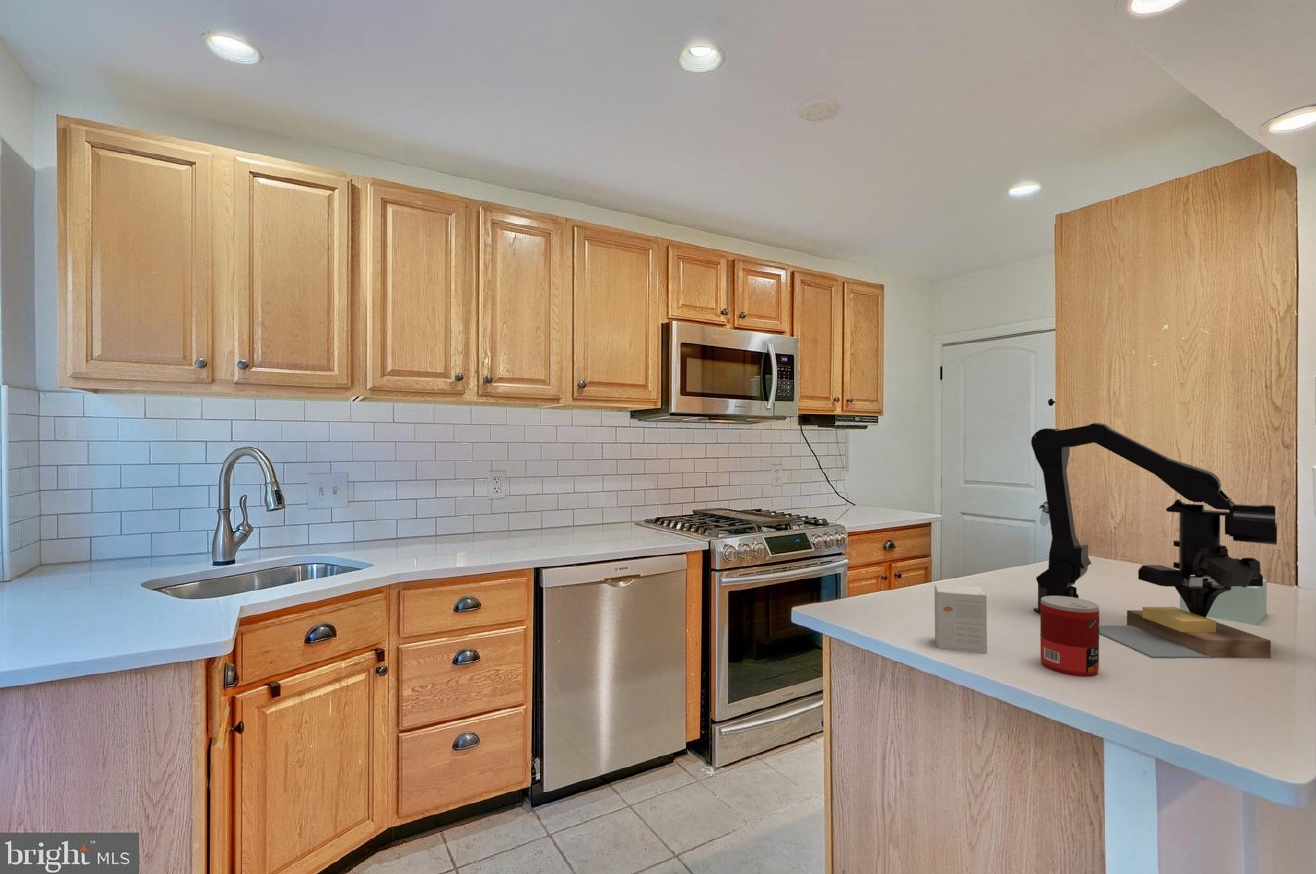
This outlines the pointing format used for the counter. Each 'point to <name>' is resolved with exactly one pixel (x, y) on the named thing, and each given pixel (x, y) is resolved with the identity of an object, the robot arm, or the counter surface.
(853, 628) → the counter surface
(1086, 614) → the canned food
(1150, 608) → the yellow flat block
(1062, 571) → the robot arm
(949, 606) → the small box
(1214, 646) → the brown flat block
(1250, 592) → the right angle wall
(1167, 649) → the mat
